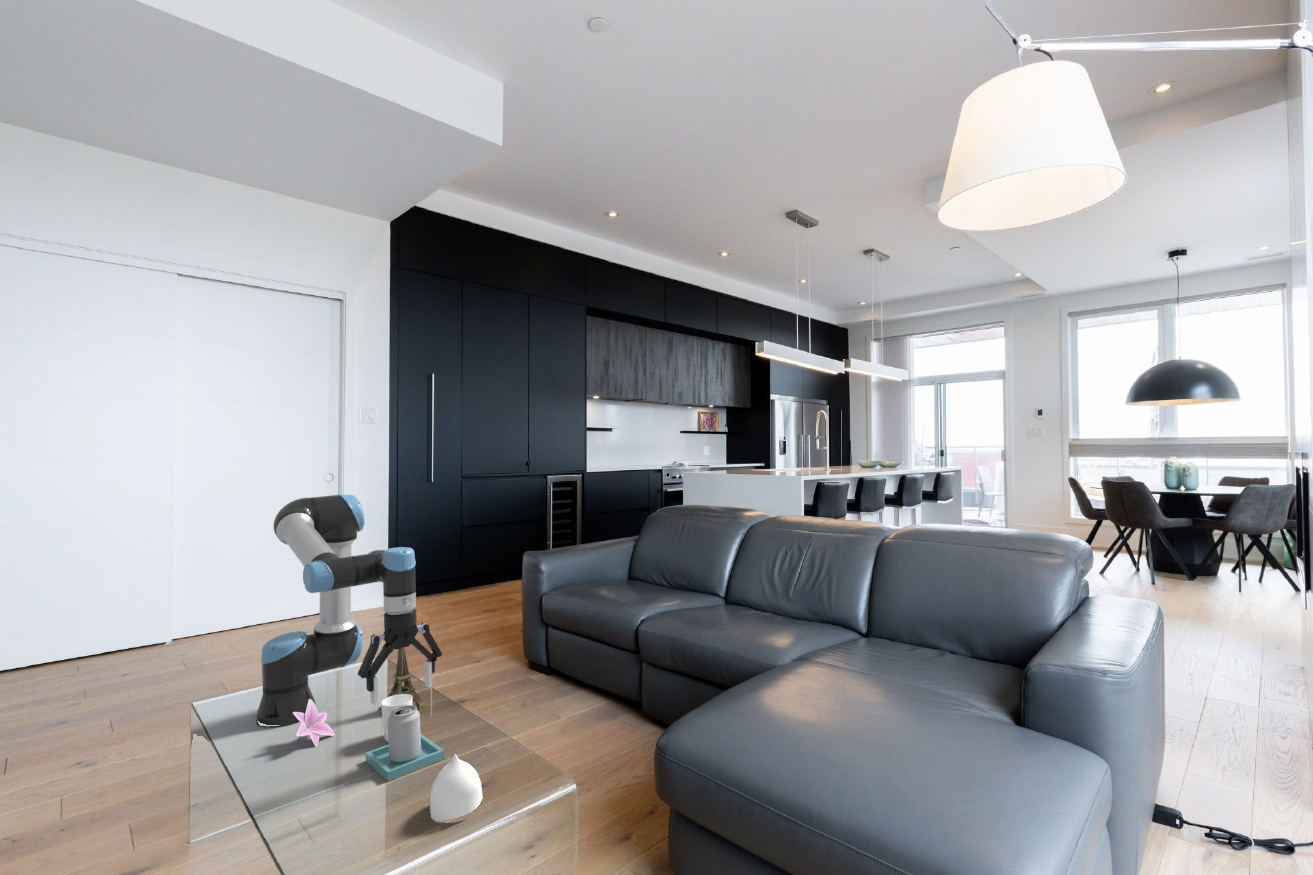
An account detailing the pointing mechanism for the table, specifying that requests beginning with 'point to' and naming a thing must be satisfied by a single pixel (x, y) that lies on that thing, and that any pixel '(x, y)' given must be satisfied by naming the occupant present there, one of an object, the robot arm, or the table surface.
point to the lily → (313, 723)
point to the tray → (395, 770)
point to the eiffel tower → (406, 679)
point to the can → (404, 734)
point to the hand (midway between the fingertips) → (402, 694)
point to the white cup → (391, 704)
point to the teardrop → (455, 791)
